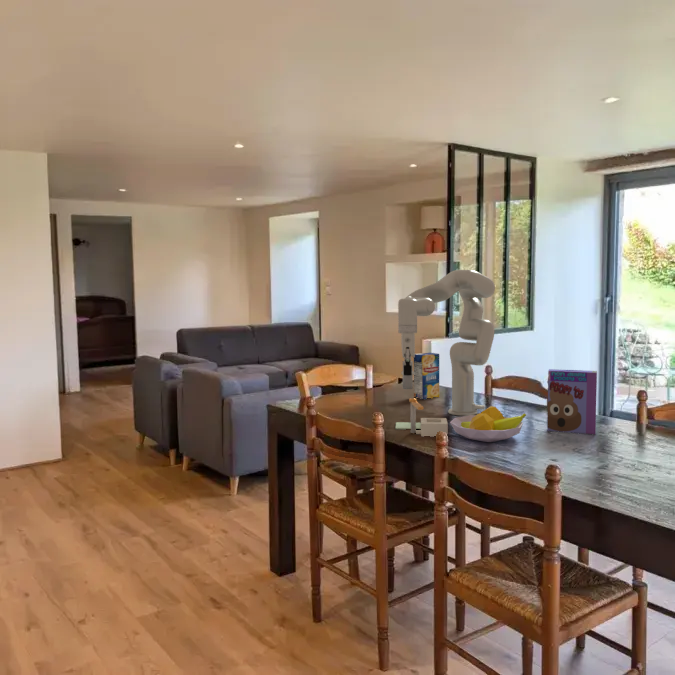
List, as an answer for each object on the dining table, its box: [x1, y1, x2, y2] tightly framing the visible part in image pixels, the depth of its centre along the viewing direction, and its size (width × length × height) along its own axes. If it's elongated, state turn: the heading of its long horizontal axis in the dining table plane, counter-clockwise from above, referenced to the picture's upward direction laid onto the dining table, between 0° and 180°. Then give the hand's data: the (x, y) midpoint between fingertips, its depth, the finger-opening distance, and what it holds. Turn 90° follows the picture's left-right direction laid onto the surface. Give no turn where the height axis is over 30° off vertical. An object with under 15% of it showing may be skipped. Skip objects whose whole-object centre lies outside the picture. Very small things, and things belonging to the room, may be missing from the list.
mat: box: [395, 421, 421, 430], centre depth 265 cm, size 10×10×1 cm
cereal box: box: [546, 368, 598, 436], centre depth 251 cm, size 17×5×24 cm, turn 68°
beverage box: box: [413, 352, 440, 400], centre depth 326 cm, size 7×11×22 cm, turn 122°
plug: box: [400, 360, 414, 390], centre depth 262 cm, size 5×5×11 cm
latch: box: [408, 397, 424, 411], centre depth 247 cm, size 14×3×2 cm, turn 6°
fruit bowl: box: [449, 405, 527, 443], centre depth 244 cm, size 28×27×11 cm
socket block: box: [410, 403, 449, 438], centre depth 252 cm, size 14×10×12 cm
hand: (407, 373), depth 262 cm, fingers closed on plug, 5 cm apart
